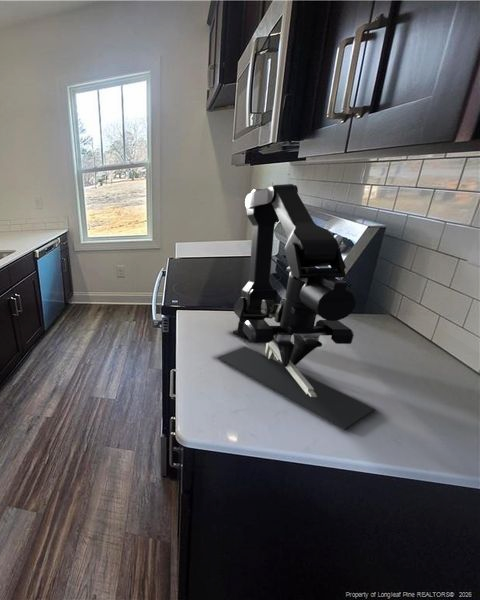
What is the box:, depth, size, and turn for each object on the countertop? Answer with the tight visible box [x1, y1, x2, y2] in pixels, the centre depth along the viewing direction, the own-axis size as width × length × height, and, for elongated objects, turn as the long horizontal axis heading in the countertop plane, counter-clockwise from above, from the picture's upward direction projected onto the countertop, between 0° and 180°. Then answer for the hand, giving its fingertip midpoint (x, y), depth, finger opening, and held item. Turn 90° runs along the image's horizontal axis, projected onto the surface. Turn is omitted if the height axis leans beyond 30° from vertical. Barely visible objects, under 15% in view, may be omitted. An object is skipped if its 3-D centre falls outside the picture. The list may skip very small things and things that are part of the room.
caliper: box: [264, 340, 317, 397], centre depth 68 cm, size 20×1×6 cm, turn 173°
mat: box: [217, 346, 376, 431], centre depth 70 cm, size 10×28×1 cm, turn 26°
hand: (287, 366), depth 69 cm, fingers closed on caliper, 1 cm apart
